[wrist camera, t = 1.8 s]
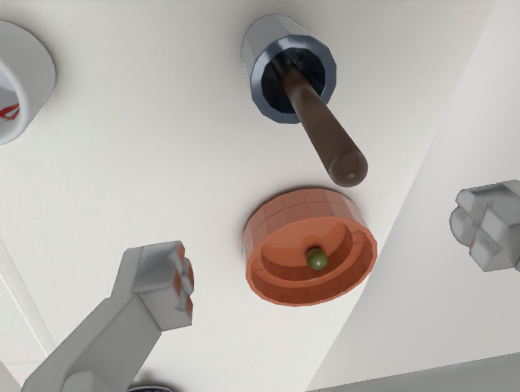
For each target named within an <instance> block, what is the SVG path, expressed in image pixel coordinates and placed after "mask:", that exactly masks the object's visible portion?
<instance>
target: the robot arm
mask: <svg viewBox="0 0 520 392" xmlns="http://www.w3.org/2000/svg"><path fill="white" fill-rule="evenodd" d="M455 201H456V203H457V204H458V207H457V208H456V209H455V210H454V211H453V212H452V213H451V217H450V228H451V231H452V233H453V235H454V237H455V238H456V239H457V241H458V242H459V243H461V244H463V245H465V246H467V247H469V255H470V256H471V257H472V258H473V259H474V261H475V262H476V263H477V264H478V265H479V266H480V267H481V269H482V270H483V271H484V272H488V271H494V270H501V269H507V268H514V267H515V269H516V270H517V271H519V272H520V181H518V180H510V181H505V182H500V183H496V184H490V185H485V186H479V187H474V188H469V189H463V190H461V191H460V192H459V193H458V194H457V197H456V200H455ZM184 254H185V248H184V246H183V244H182V242H181V241H179V240H178V241H172V242H165V243H159V244H152V245H146V246H142V247H135V248H129V249H127V250H126V251H125V252H124V254H123V257H122V260H121V264H120V267H119V270H118V274H117V277H116V280H115V283H114V287H113V290H112V293H111V296H110V298H105V299H104V300H103V301H102V302H101V303H100V304H99V305H98V306H97V307H96V308H95V309H94V310H93V311H92V312H91V313H90V314H89V315H88V316H87V317H86V318H85V319H84V320H83V322H82V323H81V324H80V325H79V326H78V327H77V328H76V329H75V330H74V331H73V332H72V333H71V334H70V335H69V336H68V337H67V338H66V339H65V340H64V341H63V342H62V343H61V344H60V345H59V346H58V347H57V348H56V349H55V350H54V351H53V352H52V353H51V354H50V355H49V357H48V358H47V359H46V360H45V361H44V362H43V363H42V364H41V365H40V366H39V367H38V368H37V369H36V370H35V371H34V372H33V373H32V374H31V375H30V376H29V377H28V378H27V379H26V380H25V383H24V385H23V387H22V389H21V392H126V391H127V389H128V387H129V386H130V384H131V382H132V381H133V379H134V378H135V376H136V374H137V373H138V371H139V370H140V368H141V366H142V365H143V363H144V361H145V360H146V358H147V357H148V355H149V353H150V352H151V350H152V349H153V347H154V345H155V344H156V342H157V340H158V339H159V337H160V336H161V334H162V333H161V332H162V331H167V330H172V329H177V328H181V327H186V326H191V325H192V310H193V303H192V301H191V299H190V297H189V296H190V295H191V294H192V292H193V291H194V276H193V270H192V266H191V263H190V260H189V259H187V258H186V257H184ZM307 392H520V352H518V353H512V354H507V355H501V356H496V357H491V358H485V359H480V360H474V361H469V362H463V363H458V364H453V365H447V366H442V367H437V368H431V369H426V370H421V371H415V372H409V373H404V374H398V375H393V376H388V377H382V378H377V379H371V380H366V381H361V382H355V383H350V384H345V385H339V386H334V387H329V388H323V389H318V390H312V391H307Z"/></svg>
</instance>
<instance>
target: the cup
mask: <svg viewBox="0 0 520 392" xmlns="http://www.w3.org/2000/svg"><path fill="white" fill-rule="evenodd" d="M55 80H56V72H55V67H54V64H53V61H52V59H51V57H50V55H49V53H48V51H47V50H46V49H45V47H44V46H43V45H42V44H41V43H40V42H39V41H38V40H37V39H36V38H35V37H34V36H33V35H32V34H30V33H29V32H27V31H26V30H24V29H22V28H21V27H19V26H17V25H14V24H12V23H9V22H5V21H1V20H0V145H2V144H6V143H8V142H11V141H12V140H14V139H16V138H17V137H19V136H20V135H21V134H22V133H23V132H24V131H25V129H26V128H27V127H28V125H29V124H30V123H31V121H32V120H33V118H34V117H35V116H36V114H37V113H38V111H39V110H40V109H41V107H42V106H43V105H44V103H45V102H46V100H47V99H48V98H49V96H50V95H51V93H52V91H53V89H54V86H55Z"/></svg>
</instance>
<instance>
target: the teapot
mask: <svg viewBox="0 0 520 392" xmlns="http://www.w3.org/2000/svg"><path fill="white" fill-rule="evenodd" d="M126 392H172V391H171V390H170V389H169V388H166V387H161V386H139V387H134V388H131V389H129V390H127V391H126Z"/></svg>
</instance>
